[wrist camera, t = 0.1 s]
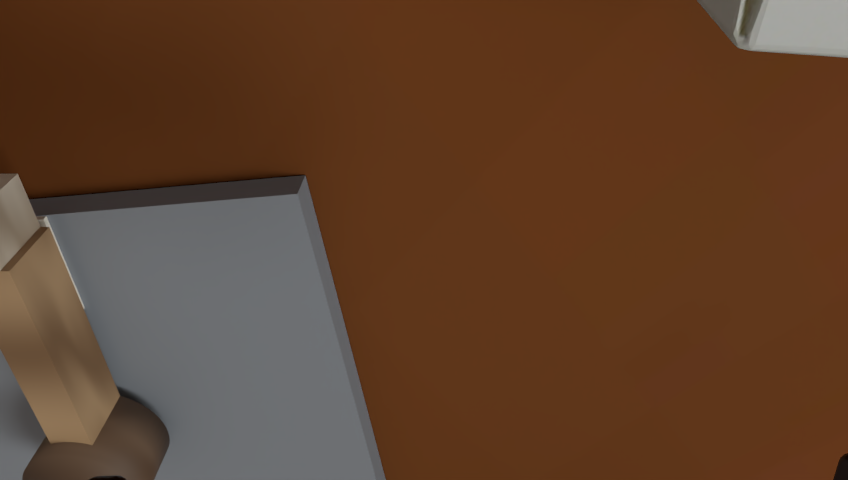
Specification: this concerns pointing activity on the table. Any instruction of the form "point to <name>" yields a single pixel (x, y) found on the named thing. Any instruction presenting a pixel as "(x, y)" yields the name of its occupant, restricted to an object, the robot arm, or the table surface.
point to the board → (212, 330)
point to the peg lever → (64, 361)
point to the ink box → (784, 25)
